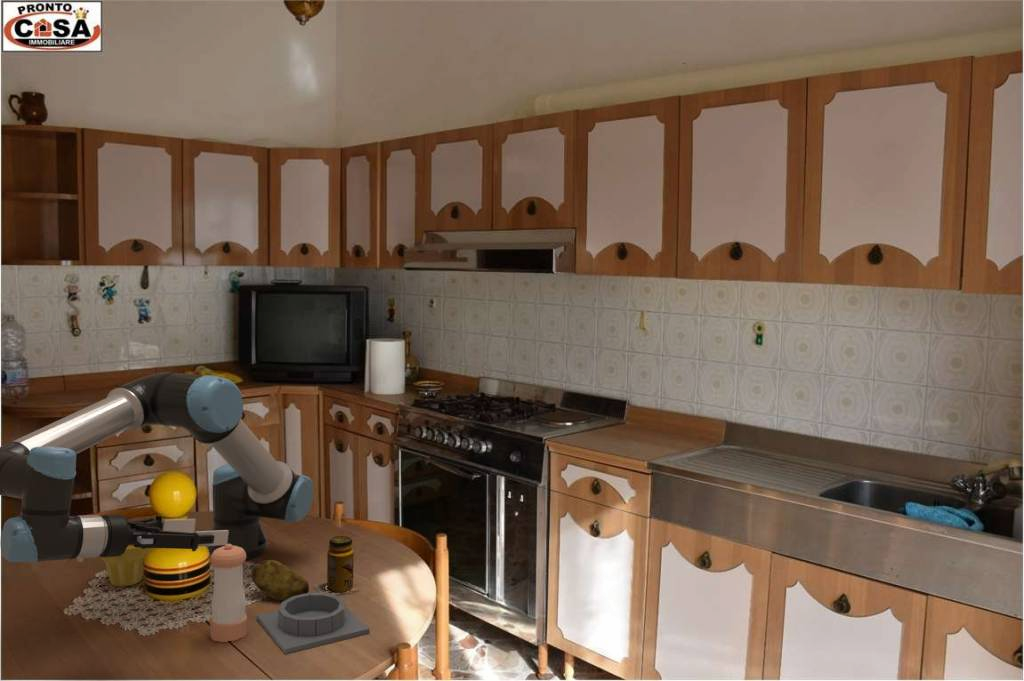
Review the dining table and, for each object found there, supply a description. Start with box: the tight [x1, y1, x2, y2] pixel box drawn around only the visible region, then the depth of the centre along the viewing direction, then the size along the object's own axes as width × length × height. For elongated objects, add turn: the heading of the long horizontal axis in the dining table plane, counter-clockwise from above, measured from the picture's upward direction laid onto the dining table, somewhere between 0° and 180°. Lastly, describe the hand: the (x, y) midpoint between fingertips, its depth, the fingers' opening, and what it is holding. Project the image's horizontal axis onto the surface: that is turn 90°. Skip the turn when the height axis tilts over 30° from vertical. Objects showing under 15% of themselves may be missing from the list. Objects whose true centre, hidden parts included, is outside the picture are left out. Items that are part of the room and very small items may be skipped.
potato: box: [251, 559, 310, 602], centre depth 194 cm, size 8×13×8 cm, turn 61°
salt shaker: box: [209, 544, 248, 643], centre depth 174 cm, size 7×7×19 cm
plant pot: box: [100, 545, 150, 588], centre depth 200 cm, size 10×10×10 cm
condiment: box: [313, 535, 355, 596], centre depth 199 cm, size 7×8×12 cm
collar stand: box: [256, 592, 370, 655], centre depth 180 cm, size 18×18×4 cm
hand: (210, 531), depth 169 cm, fingers open, 13 cm apart
